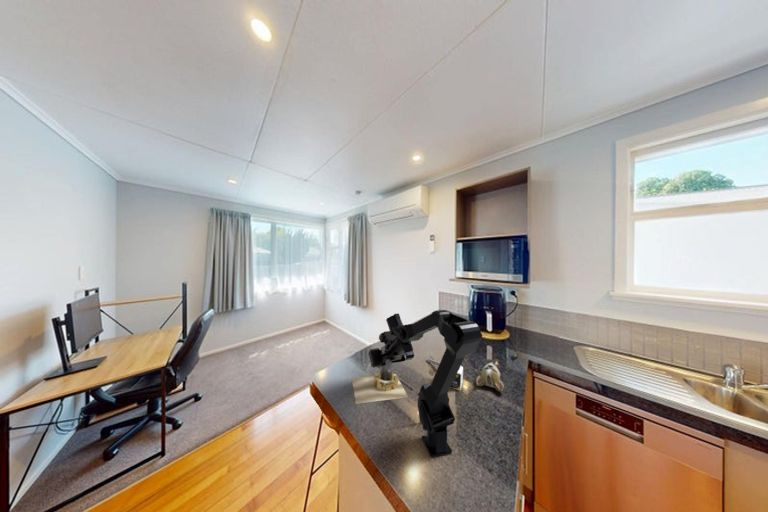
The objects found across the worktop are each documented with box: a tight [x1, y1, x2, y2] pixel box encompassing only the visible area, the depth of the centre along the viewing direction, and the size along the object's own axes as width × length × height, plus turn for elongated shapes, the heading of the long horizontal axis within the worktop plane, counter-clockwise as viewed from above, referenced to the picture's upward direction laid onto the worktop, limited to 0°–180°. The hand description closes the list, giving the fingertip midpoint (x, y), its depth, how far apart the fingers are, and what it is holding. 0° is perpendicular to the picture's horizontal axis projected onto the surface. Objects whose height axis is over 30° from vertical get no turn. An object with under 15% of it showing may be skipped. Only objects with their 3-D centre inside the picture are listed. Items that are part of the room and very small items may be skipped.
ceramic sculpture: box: [475, 361, 505, 394], centre depth 92 cm, size 11×9×15 cm
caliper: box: [426, 358, 441, 367], centre depth 104 cm, size 21×1×6 cm, turn 20°
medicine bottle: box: [450, 365, 464, 391], centre depth 91 cm, size 7×7×12 cm
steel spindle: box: [379, 345, 393, 381], centre depth 88 cm, size 5×5×12 cm
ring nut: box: [373, 372, 399, 391], centre depth 88 cm, size 10×10×2 cm
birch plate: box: [351, 373, 409, 405], centre depth 86 cm, size 17×20×1 cm
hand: (384, 363), depth 89 cm, fingers closed on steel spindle, 5 cm apart
